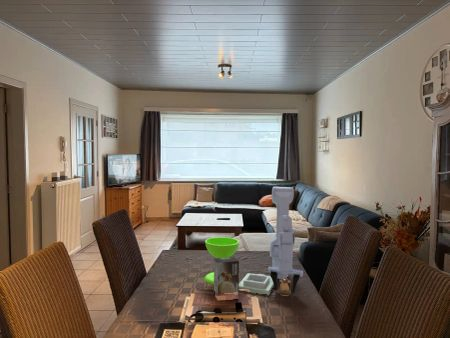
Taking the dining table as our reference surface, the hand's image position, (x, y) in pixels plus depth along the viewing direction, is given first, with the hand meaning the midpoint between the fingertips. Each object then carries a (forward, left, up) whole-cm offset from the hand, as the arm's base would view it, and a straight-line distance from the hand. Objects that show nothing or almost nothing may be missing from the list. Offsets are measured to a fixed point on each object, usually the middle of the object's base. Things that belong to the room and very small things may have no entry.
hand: (284, 290), depth 153 cm
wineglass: (-7, -31, -2) cm, 32 cm away
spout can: (0, 0, -2) cm, 2 cm away
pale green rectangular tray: (-5, -13, -1) cm, 14 cm away
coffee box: (+13, -22, -2) cm, 26 cm away
